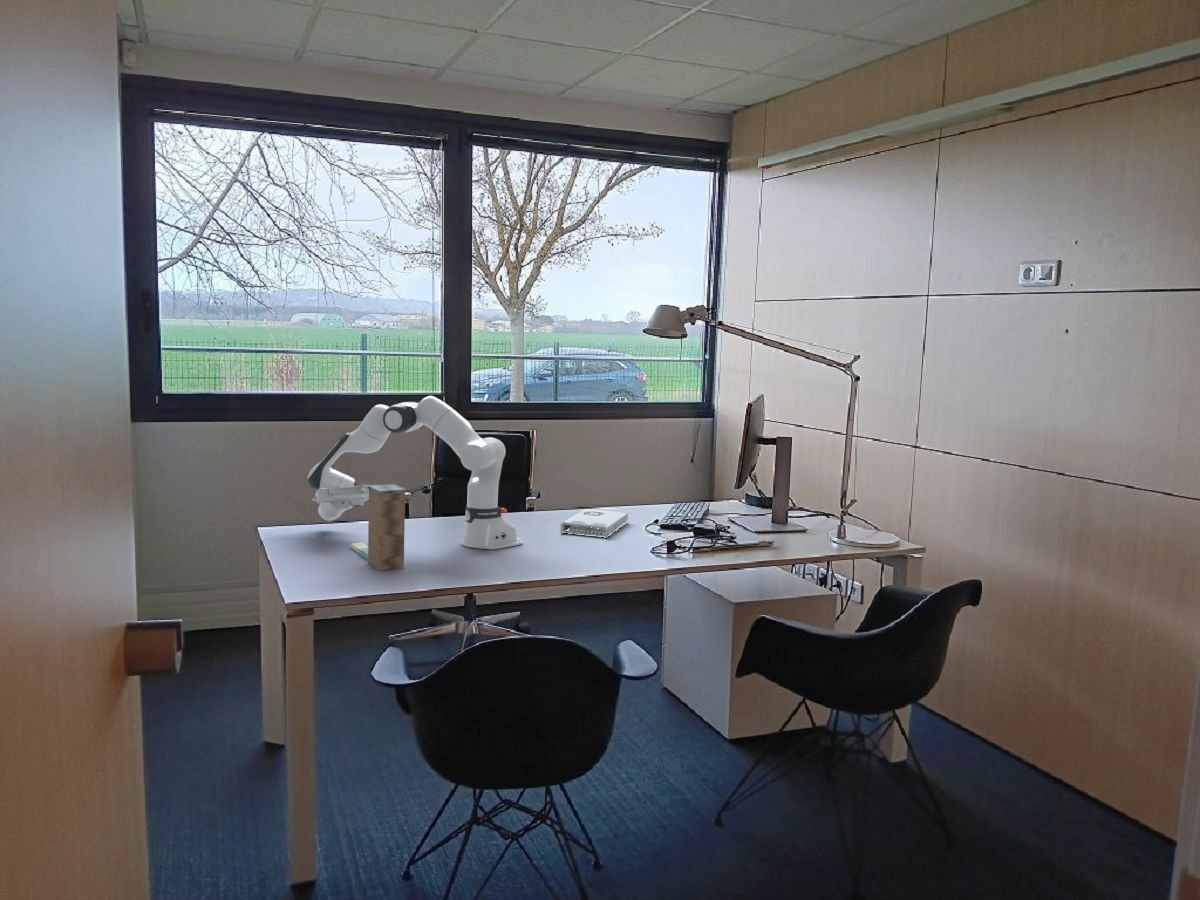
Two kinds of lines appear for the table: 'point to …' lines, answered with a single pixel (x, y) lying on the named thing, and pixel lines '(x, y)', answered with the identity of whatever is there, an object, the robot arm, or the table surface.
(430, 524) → the table surface
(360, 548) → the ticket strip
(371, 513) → the walnut stand
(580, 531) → the power supply unit
